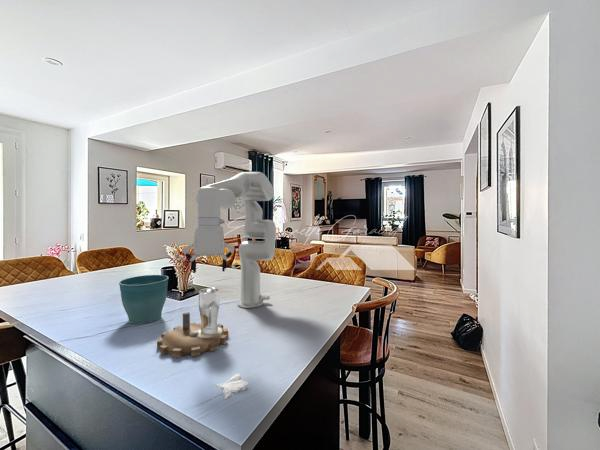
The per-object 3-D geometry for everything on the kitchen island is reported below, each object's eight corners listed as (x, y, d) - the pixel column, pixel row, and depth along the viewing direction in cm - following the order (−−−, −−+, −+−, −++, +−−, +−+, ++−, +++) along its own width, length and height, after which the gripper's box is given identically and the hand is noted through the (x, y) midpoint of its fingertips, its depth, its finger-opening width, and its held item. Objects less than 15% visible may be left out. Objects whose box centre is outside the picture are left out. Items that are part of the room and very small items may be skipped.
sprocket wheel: (196, 323, 110) (196, 304, 109) (241, 334, 100) (241, 313, 99) (141, 347, 89) (141, 324, 89) (191, 364, 79) (191, 338, 79)
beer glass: (223, 329, 98) (223, 288, 98) (211, 337, 91) (211, 293, 91) (207, 327, 100) (207, 286, 100) (194, 334, 94) (194, 291, 93)
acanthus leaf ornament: (238, 377, 75) (238, 370, 74) (252, 389, 69) (252, 382, 69) (212, 388, 70) (212, 381, 69) (225, 402, 64) (225, 394, 64)
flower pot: (133, 331, 102) (133, 287, 101) (110, 321, 112) (110, 280, 111) (177, 317, 117) (177, 278, 117) (154, 309, 127) (153, 273, 126)
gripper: (233, 222, 101) (233, 268, 101) (183, 222, 96) (183, 270, 96) (235, 223, 94) (235, 272, 94) (180, 223, 89) (181, 275, 89)
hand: (209, 271), depth 95 cm, fingers open, 9 cm apart
